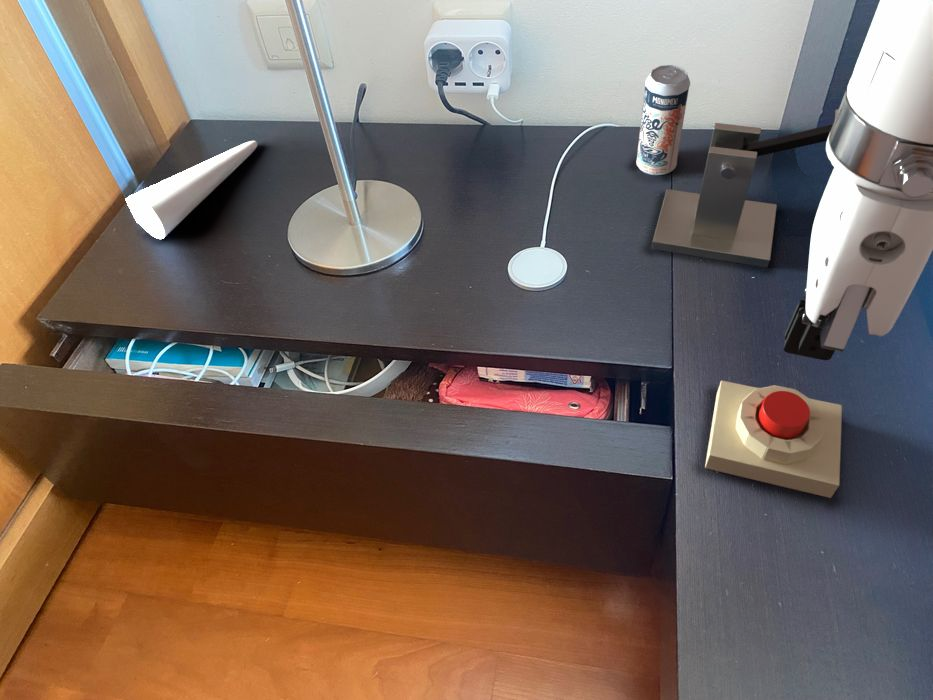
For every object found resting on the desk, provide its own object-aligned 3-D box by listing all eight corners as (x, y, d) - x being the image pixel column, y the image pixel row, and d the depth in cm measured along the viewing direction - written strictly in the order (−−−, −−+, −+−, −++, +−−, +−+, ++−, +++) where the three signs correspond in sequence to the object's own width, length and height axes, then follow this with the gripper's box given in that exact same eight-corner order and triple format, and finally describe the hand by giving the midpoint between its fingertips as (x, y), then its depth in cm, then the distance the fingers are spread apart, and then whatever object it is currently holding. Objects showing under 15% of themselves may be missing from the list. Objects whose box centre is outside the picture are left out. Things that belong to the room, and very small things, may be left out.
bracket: (774, 212, 80) (803, 120, 71) (767, 268, 75) (797, 176, 66) (665, 197, 84) (679, 106, 74) (651, 249, 78) (665, 159, 69)
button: (805, 408, 60) (811, 395, 59) (802, 443, 58) (809, 432, 57) (760, 398, 61) (764, 386, 60) (756, 433, 59) (761, 421, 58)
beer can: (628, 170, 87) (638, 79, 78) (647, 149, 89) (659, 58, 80) (664, 183, 85) (679, 91, 76) (683, 161, 87) (699, 69, 78)
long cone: (290, 171, 96) (171, 245, 85) (259, 160, 99) (140, 230, 89) (278, 130, 92) (151, 203, 81) (246, 121, 95) (120, 189, 85)
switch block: (834, 419, 63) (848, 392, 60) (831, 498, 59) (846, 474, 56) (716, 394, 66) (725, 367, 63) (704, 468, 61) (713, 443, 58)
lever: (854, 122, 68) (850, 100, 66) (853, 154, 65) (849, 132, 63) (723, 153, 74) (717, 133, 73) (717, 183, 72) (710, 163, 70)
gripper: (1004, 240, 33) (860, 446, 47) (978, 66, 41) (863, 285, 56) (828, 212, 35) (741, 419, 49) (838, 52, 43) (761, 268, 58)
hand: (806, 347), depth 52 cm, fingers closed
